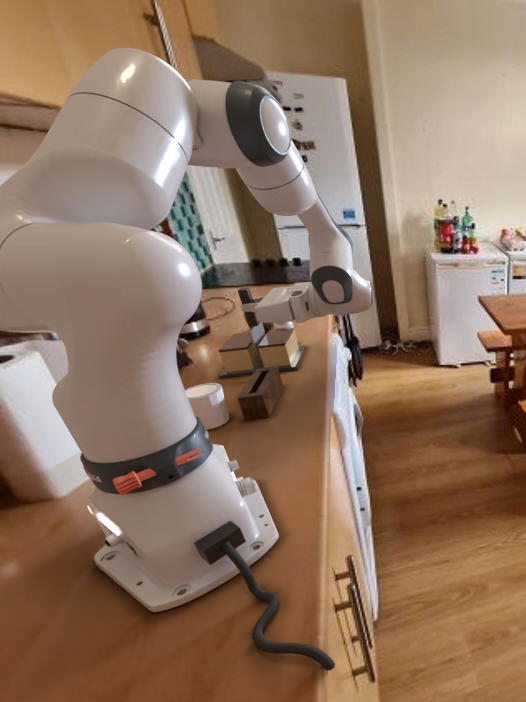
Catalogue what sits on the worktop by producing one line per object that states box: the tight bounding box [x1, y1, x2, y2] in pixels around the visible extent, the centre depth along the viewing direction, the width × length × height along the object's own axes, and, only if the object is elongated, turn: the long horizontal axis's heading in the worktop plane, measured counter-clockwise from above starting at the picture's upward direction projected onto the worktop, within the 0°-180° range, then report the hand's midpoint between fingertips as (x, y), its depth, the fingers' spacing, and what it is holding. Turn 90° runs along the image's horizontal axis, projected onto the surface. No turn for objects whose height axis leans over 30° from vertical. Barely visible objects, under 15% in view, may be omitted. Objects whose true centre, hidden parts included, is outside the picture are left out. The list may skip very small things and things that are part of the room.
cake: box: [217, 327, 306, 379], centre depth 106 cm, size 15×17×7 cm
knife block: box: [236, 367, 284, 421], centre depth 87 cm, size 14×4×5 cm, turn 16°
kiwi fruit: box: [243, 312, 275, 334], centre depth 129 cm, size 8×13×8 cm, turn 23°
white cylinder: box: [185, 382, 230, 430], centre depth 80 cm, size 7×7×7 cm
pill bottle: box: [273, 321, 298, 340], centre depth 117 cm, size 5×5×8 cm
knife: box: [237, 287, 267, 354], centre depth 103 cm, size 10×2×15 cm, turn 16°
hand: (244, 305), depth 101 cm, fingers closed on knife, 2 cm apart
